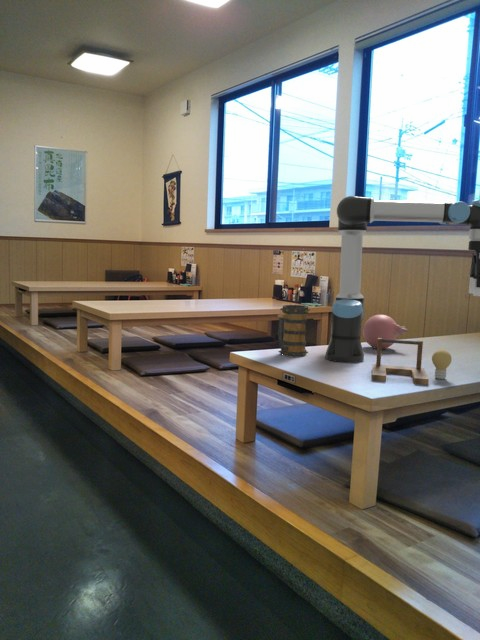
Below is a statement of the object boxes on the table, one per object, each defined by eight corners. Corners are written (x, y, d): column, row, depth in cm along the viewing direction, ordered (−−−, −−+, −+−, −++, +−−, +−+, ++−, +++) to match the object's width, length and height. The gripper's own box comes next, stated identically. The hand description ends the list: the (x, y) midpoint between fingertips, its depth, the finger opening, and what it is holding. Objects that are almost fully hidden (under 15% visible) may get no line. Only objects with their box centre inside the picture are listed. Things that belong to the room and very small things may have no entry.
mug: (315, 354, 224) (317, 306, 222) (289, 360, 212) (291, 309, 209) (290, 350, 233) (292, 304, 230) (264, 355, 221) (266, 306, 218)
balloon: (399, 354, 230) (402, 318, 228) (356, 348, 242) (358, 314, 240) (412, 349, 242) (414, 316, 240) (370, 344, 254) (372, 311, 252)
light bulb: (434, 375, 192) (436, 347, 191) (452, 378, 188) (454, 350, 187) (427, 378, 188) (429, 350, 186) (446, 381, 184) (448, 352, 182)
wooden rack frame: (372, 380, 182) (374, 345, 180) (372, 369, 199) (374, 337, 198) (428, 385, 178) (431, 349, 176) (423, 373, 195) (426, 340, 193)
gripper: (495, 240, 198) (490, 297, 201) (484, 241, 222) (480, 293, 225) (473, 239, 200) (468, 296, 203) (465, 241, 224) (461, 292, 227)
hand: (474, 294), depth 214 cm, fingers open, 13 cm apart
